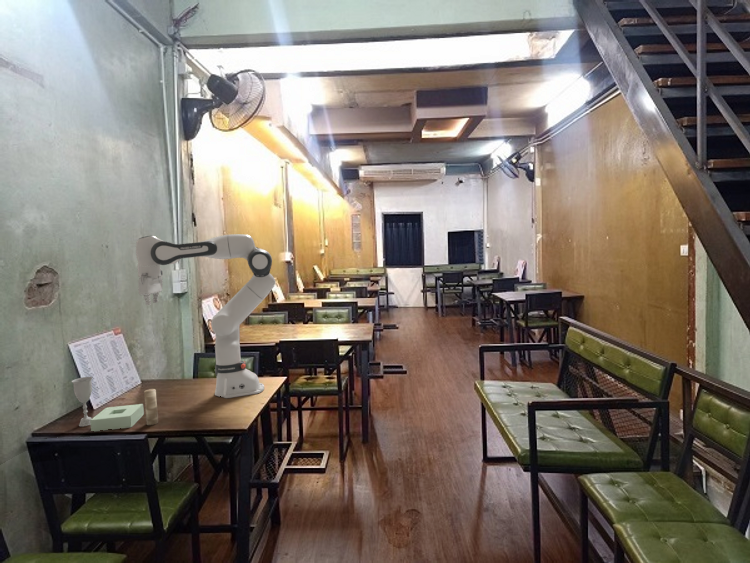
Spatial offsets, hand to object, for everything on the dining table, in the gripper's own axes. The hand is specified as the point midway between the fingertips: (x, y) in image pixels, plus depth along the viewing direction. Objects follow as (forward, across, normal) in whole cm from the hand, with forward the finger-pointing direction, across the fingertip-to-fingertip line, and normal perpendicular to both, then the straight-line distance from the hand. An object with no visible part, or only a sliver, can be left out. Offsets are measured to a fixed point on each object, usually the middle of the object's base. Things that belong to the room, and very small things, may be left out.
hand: (152, 303), depth 191 cm
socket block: (+45, -23, +9) cm, 51 cm away
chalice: (+45, -20, +22) cm, 54 cm away
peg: (+45, -28, -5) cm, 53 cm away
